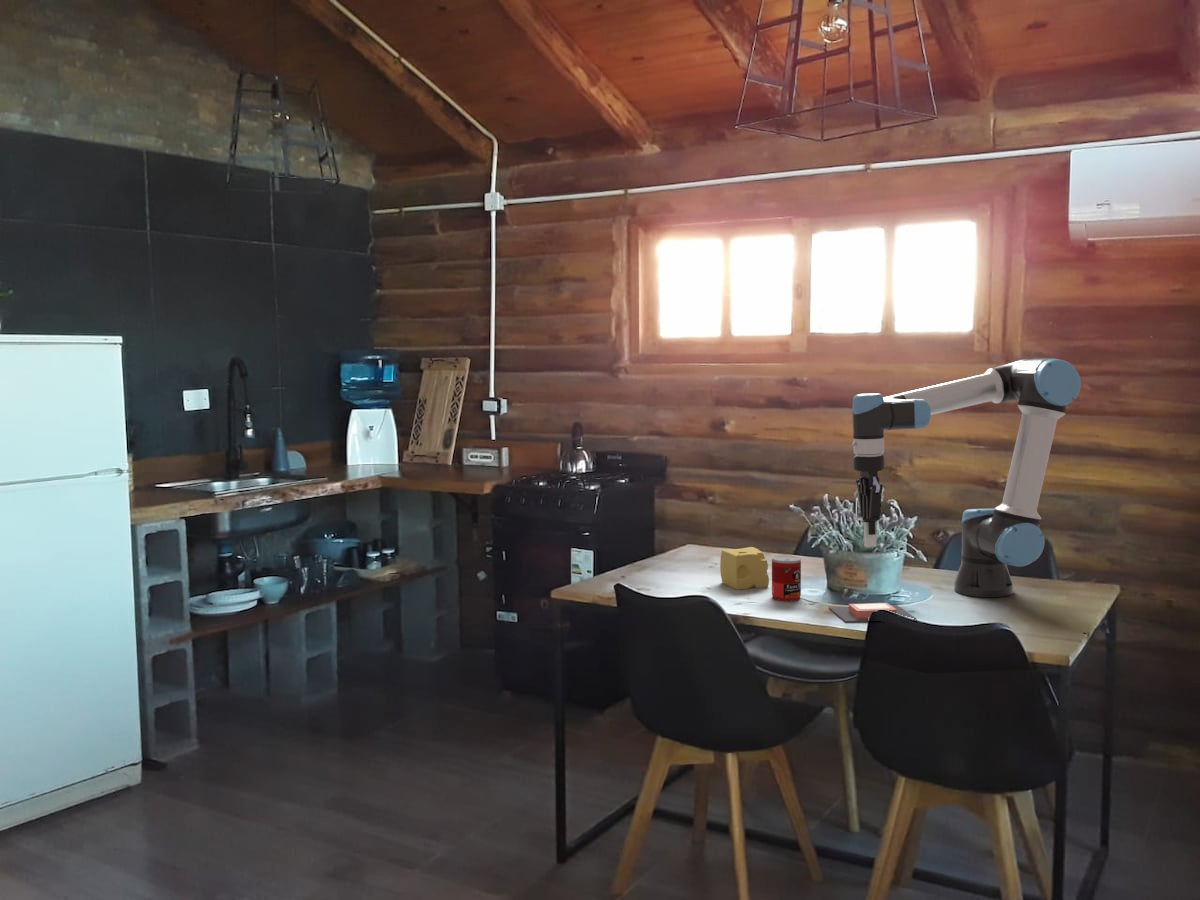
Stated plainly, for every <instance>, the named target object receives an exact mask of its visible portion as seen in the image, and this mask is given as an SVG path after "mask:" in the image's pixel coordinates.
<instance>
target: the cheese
mask: <svg viewBox="0 0 1200 900" xmlns="http://www.w3.org/2000/svg"><path fill="white" fill-rule="evenodd" d="M763 552H764V551H761V550H760V549H758V548H756V547H753V546H749V547H742V548H736V549H735V548H734V549H723V550H721V553H720V561H719V563H720V564H719V565H720V566H719V567H720V569H719V570H720V578H721V583H722V584H724V585H726V586H729V587H731V588H732V589H735V590H737V591H739V590H748V589H751V588H757V589H758V588H759V589H761V588H768V587H769V584H770V578H769V574H768V569H769V564H768V561H767V559H766V557H765V554H764V553H763Z"/></svg>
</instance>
